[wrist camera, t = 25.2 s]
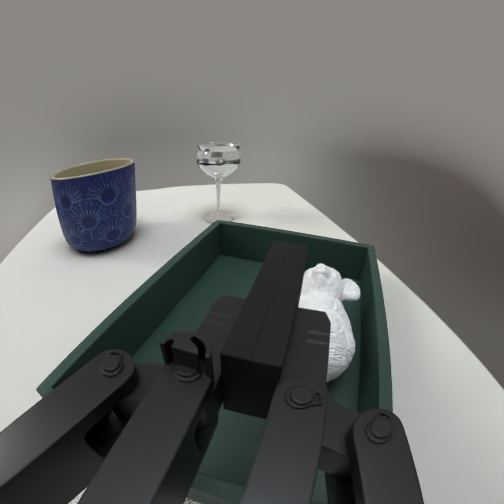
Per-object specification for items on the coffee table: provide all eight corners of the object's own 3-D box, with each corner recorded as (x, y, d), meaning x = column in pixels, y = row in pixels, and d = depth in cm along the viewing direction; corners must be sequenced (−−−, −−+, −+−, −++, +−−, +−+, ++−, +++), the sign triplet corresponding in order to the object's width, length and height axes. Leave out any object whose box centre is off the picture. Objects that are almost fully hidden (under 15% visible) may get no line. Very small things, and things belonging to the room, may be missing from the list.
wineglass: (230, 227, 42) (232, 147, 36) (190, 222, 44) (188, 146, 38) (244, 213, 48) (246, 143, 42) (208, 208, 49) (207, 141, 44)
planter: (136, 255, 33) (125, 169, 28) (53, 263, 30) (35, 184, 25) (145, 220, 44) (140, 155, 39) (78, 227, 41) (68, 165, 36)
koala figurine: (188, 336, 15) (257, 265, 26) (238, 417, 16) (283, 327, 27) (339, 302, 11) (345, 235, 22) (369, 405, 12) (368, 305, 23)
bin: (364, 283, 30) (374, 245, 27) (346, 531, 8) (385, 520, 6) (217, 256, 34) (216, 219, 32) (70, 430, 12) (35, 388, 10)
